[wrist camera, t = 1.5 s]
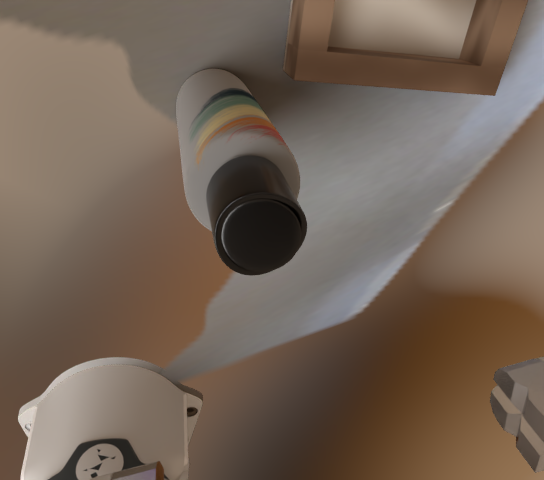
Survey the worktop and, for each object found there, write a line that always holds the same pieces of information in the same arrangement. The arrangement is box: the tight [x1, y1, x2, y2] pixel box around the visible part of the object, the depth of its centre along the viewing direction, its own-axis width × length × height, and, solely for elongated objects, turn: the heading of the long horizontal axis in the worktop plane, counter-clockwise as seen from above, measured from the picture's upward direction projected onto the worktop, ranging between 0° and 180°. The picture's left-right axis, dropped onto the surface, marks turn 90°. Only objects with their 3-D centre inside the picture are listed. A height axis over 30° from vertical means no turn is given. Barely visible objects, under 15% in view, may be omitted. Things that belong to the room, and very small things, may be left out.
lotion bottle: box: [176, 69, 307, 275], centre depth 26 cm, size 6×6×20 cm
